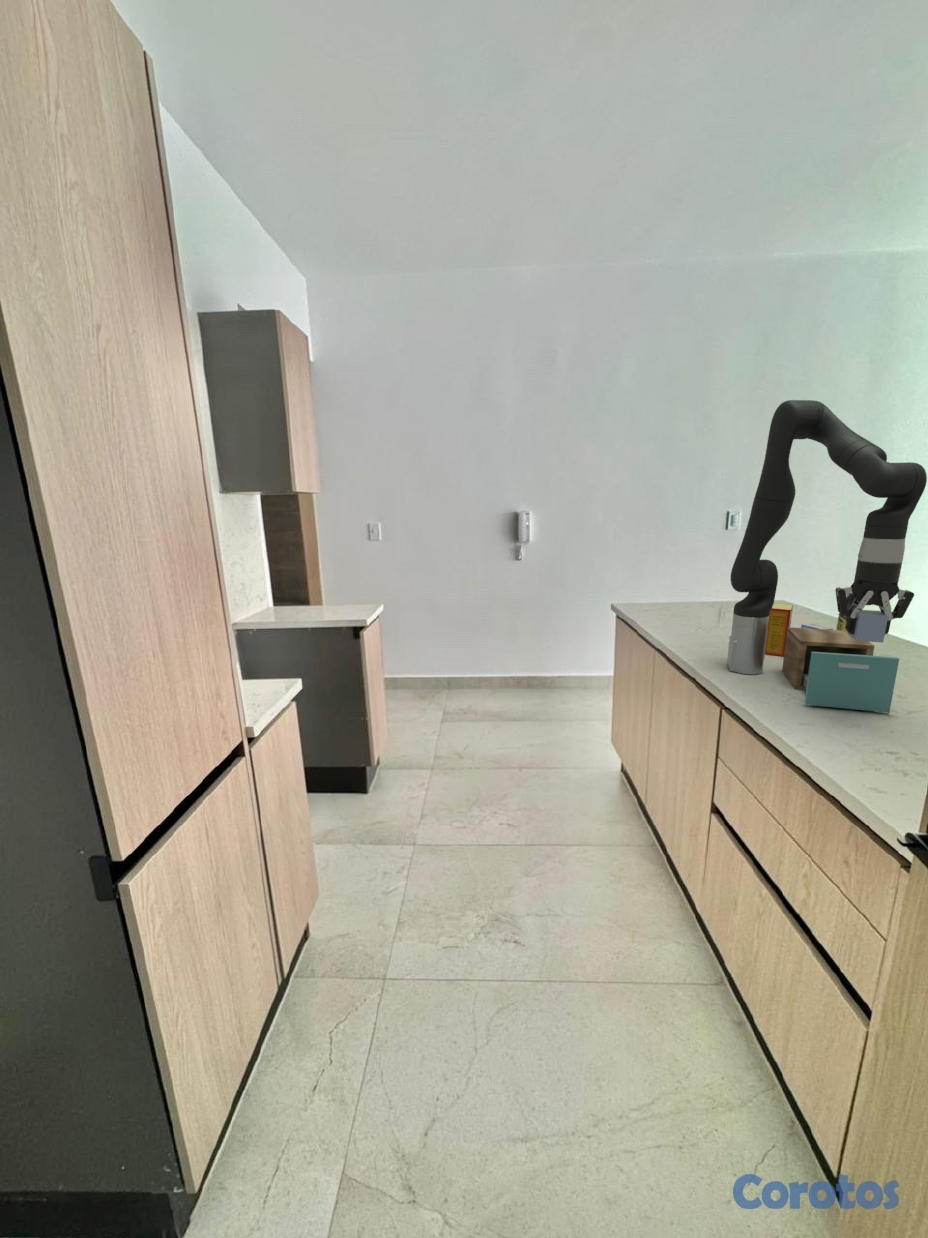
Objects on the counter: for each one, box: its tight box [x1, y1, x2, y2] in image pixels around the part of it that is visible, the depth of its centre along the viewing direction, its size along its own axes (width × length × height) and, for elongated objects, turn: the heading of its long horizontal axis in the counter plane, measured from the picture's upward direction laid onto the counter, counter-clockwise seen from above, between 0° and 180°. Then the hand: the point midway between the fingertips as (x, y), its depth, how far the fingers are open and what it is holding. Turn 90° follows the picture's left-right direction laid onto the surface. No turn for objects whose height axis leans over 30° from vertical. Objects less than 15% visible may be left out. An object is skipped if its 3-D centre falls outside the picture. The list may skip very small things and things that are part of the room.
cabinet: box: [781, 627, 875, 691], centre depth 139 cm, size 16×15×14 cm
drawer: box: [802, 652, 900, 713], centre depth 127 cm, size 17×15×13 cm
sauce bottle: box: [835, 592, 856, 631], centre depth 166 cm, size 7×6×20 cm
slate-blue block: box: [848, 609, 888, 644], centre depth 113 cm, size 5×5×6 cm
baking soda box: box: [765, 602, 794, 658], centre depth 166 cm, size 10×6×16 cm
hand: (865, 634), depth 113 cm, fingers closed on slate-blue block, 5 cm apart
